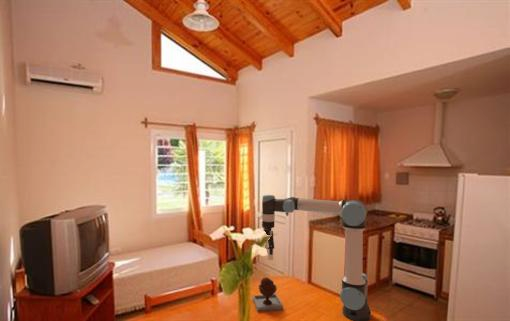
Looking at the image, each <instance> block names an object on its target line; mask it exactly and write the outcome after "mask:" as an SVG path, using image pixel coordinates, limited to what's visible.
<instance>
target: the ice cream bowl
mask: <svg viewBox="0 0 510 321" xmlns="http://www.w3.org/2000/svg"><path fill="white" fill-rule="evenodd" d="M258 290H259V293H260V295H264V296H266V300H264V301H263V304H265V305H271V304H272V302H271V301H270V300H269V296H272V295H273V294H276V292H277V290H278V288H277V285H276V284H275V283H274V281H273V280H272V279H271V278H269V277H263V278H261V280H260V284H259V285H258Z"/></svg>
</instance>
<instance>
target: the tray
mask: <svg viewBox="0 0 510 321" xmlns="http://www.w3.org/2000/svg"><path fill="white" fill-rule="evenodd" d="M264 300H266V296H264V295H262V294H257V295H252V301H253V304H254V306H255V309H256V312H257V313H258V312H259V313H260V312H262V313H263V312H271V311H273V312H275V311H284V305H283V303H282V302H281V300H280V298H279V295H278V294H277V293H274V294H273V295H272V296H269V300H270V301H271V302H272V304H271V305H265V304H263V301H264Z"/></svg>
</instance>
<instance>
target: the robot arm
mask: <svg viewBox="0 0 510 321" xmlns="http://www.w3.org/2000/svg"><path fill="white" fill-rule="evenodd" d="M261 199H262V201H261V209H262V212H261V213H262V214H261V218H262V219H261V220H262V221H261V227H262V228H263V231H265V232H266V234H267V235H272V236H271V237H270V239H269V240H268V242H267V243H266V245H265V248H266V249H267V253H266V254H267V261H273V260H274V249H275V241H274V231H273V230H272V229H274V228H275V219H276V218H275V215H276V213H275V212H277V213H285V214H288V213H290V214H291V213H293V212H294V211H302V212H303V211H304V212H313V213H322V214H323V213H324V214H333V215H340V216H341V219H342V220H341V221H342V222H341V224H342V228H343V229H344V235H345V237H344V240H345V241H344V245H345V246H344V275H343V276H342V277H341V291H340V294H339V296H340V297H339V298H340V300H341V303H342V308H341V309H342V310H341V312H342V315H343V316H345V317H346V318H347V319H350V320H351V321H370V320H372V312H371V309H370V305H369V303H368V297H369V296H368V289H369V288H368V284H369V283H368V281H369V280H368V275H367V274H366V273H364V272H363V254H364V253H363V251H364V250H363V248H364V247H363V245H364V244H363V238H364V237H363V234H364V233H363V232H364V231H365V230H366V228H367V215H368V207H367V205H366V204H365V203H364V201H362V200H360V199H341V200H328V199H314V198H313V199H312V198H303V197H302V198H300V197H295V196H294V197H293V196H289V197H287V198H283V199H282V198H276V196H275V195H274V194H264V195H262V198H261Z"/></svg>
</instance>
